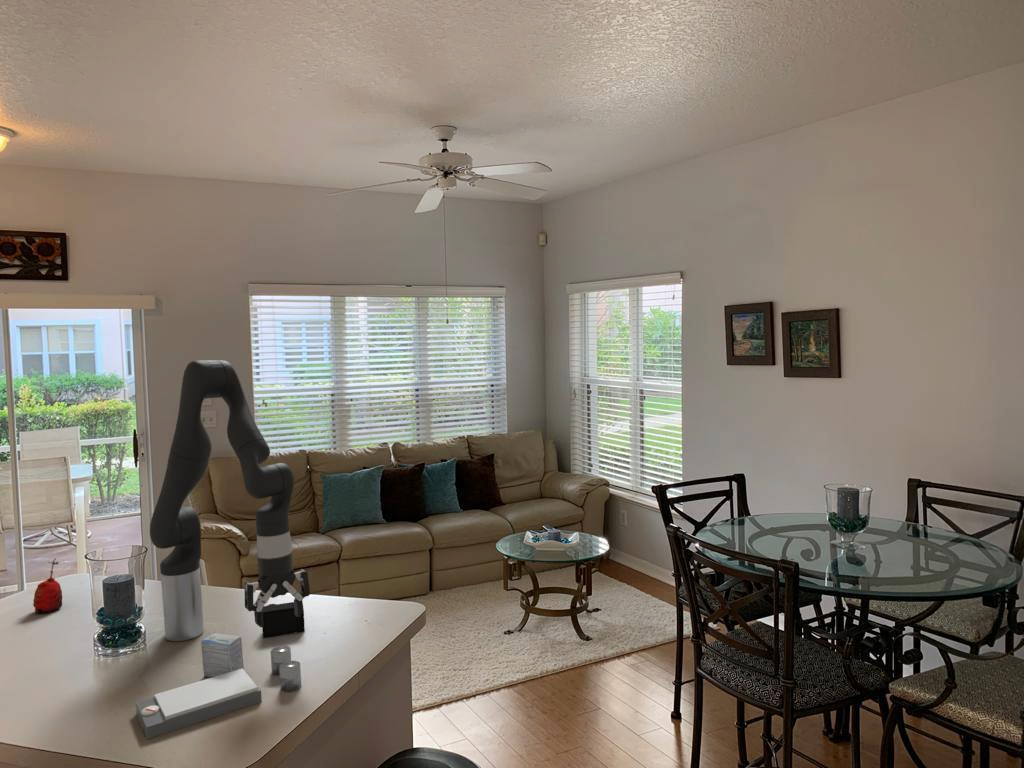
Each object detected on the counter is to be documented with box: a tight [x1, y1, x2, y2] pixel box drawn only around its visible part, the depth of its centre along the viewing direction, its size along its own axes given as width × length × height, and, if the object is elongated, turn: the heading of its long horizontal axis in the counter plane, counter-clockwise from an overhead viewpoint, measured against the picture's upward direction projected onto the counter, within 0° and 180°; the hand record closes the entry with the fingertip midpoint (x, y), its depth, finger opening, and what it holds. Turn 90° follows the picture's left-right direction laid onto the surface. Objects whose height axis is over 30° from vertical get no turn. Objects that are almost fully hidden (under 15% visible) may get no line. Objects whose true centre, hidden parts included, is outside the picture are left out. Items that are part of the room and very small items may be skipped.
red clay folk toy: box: [32, 558, 63, 615], centre depth 209 cm, size 8×7×15 cm
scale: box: [135, 668, 263, 740], centre depth 152 cm, size 12×22×3 cm, turn 126°
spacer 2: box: [279, 660, 302, 693], centre depth 159 cm, size 4×4×5 cm
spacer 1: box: [270, 645, 292, 677], centre depth 167 cm, size 4×4×5 cm
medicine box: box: [200, 632, 245, 678], centre depth 166 cm, size 8×4×9 cm, turn 71°
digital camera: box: [261, 600, 306, 639], centre depth 189 cm, size 10×5×7 cm, turn 109°
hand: (279, 621), depth 166 cm, fingers open, 8 cm apart
